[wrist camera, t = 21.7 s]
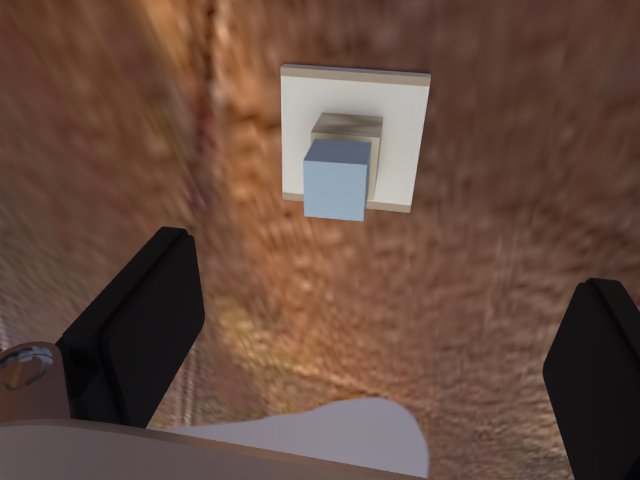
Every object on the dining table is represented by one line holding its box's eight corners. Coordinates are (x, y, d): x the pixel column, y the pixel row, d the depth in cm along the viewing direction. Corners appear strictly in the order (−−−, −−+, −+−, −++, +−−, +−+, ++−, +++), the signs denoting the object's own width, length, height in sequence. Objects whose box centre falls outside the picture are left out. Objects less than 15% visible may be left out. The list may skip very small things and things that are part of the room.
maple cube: (383, 116, 44) (379, 137, 39) (377, 174, 47) (373, 200, 42) (322, 112, 44) (310, 132, 39) (320, 169, 48) (309, 194, 43)
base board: (430, 73, 42) (431, 77, 41) (409, 206, 50) (409, 212, 48) (284, 63, 44) (280, 67, 43) (285, 192, 52) (282, 199, 50)
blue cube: (371, 142, 39) (366, 164, 35) (368, 194, 42) (363, 221, 37) (314, 138, 40) (303, 160, 36) (314, 190, 42) (304, 216, 38)
